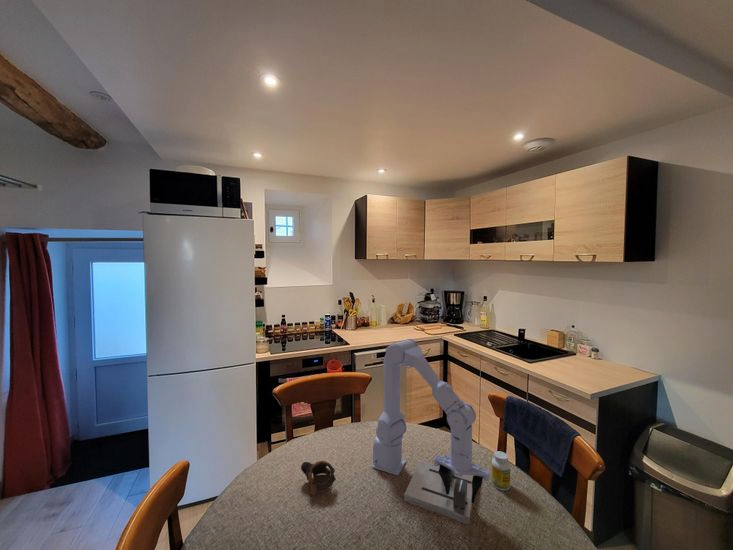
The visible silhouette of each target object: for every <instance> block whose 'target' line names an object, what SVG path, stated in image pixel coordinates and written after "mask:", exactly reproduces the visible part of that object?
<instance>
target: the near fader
mask: <svg viewBox="0 0 733 550" xmlns="http://www.w3.org/2000/svg"><path fill="white" fill-rule="evenodd" d="M466 499H467V481H464V480H460V479H456V483H455V487H454V497H453V505H456V506H458V507H461V508H464V509H465V504H466Z"/></svg>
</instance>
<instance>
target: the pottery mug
mask: <svg viewBox="0 0 733 550" xmlns="http://www.w3.org/2000/svg"><path fill="white" fill-rule="evenodd" d="M300 470H301V471H302V473H303V474H304V475H305V476H306V480H307V481H308V485H309V486H310V490H309V493H310V494H311V496H313V497H314V496H317V495H319V494H322V493H325V492H327V491H329V489H330V488H331V487H332V486H333V484H334V482H335V481H336V480H337V479H336V476H335V475H334V474H335V471H336V470H335V468H334V467H333V465H331V463H329V462H328V461H326V460H318V461H317V462H314V463H311V462H309V461H303V462H302V464H301V465H300ZM320 474H321V475H322V474H325V475H326V476H328V477H329V478H328V480H327V481H325V482H323V483H318V482H316V483H314V478H315V477H317V476H318V475H320Z"/></svg>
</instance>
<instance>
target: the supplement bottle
mask: <svg viewBox="0 0 733 550" xmlns="http://www.w3.org/2000/svg"><path fill="white" fill-rule="evenodd" d="M491 484H492V486H493V487H494V488H495V489H497V490H499V491H508V490H509V489H510V488H511V463H510V462H509V455H508V454H507V453H506V452H504V451H499V450H497V451H495V452H494V453H493V458H492V460H491Z"/></svg>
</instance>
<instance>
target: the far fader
mask: <svg viewBox="0 0 733 550" xmlns="http://www.w3.org/2000/svg"><path fill="white" fill-rule="evenodd" d="M444 457H449V456H447V455H444ZM453 475H454V471H452V470H450V481H452V478H453Z"/></svg>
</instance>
